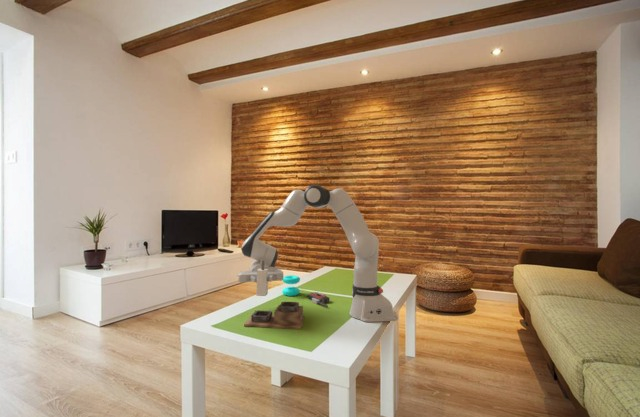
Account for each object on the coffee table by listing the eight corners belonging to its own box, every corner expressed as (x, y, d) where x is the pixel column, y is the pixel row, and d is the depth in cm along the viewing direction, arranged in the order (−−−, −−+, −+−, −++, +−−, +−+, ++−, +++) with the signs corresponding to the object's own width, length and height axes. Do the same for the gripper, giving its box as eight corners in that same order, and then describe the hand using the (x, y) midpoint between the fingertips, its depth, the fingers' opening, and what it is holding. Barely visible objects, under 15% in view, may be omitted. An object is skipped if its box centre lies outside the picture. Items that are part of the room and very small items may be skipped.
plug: (267, 293, 142) (268, 259, 142) (265, 296, 137) (266, 261, 137) (258, 293, 142) (259, 259, 142) (256, 296, 137) (256, 261, 137)
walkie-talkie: (303, 299, 175) (325, 309, 159) (303, 291, 175) (325, 300, 159) (316, 296, 180) (339, 306, 164) (316, 289, 180) (339, 297, 164)
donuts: (280, 278, 180) (286, 274, 190) (279, 295, 180) (286, 291, 190) (296, 279, 177) (302, 275, 187) (296, 297, 177) (302, 292, 187)
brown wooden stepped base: (304, 317, 145) (304, 300, 145) (300, 329, 132) (300, 309, 132) (252, 315, 147) (252, 298, 147) (244, 326, 134) (244, 307, 134)
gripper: (237, 267, 149) (238, 273, 136) (280, 266, 155) (285, 272, 142) (237, 280, 149) (238, 288, 136) (280, 279, 155) (285, 286, 142)
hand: (262, 280), depth 139 cm, fingers closed on plug, 5 cm apart
